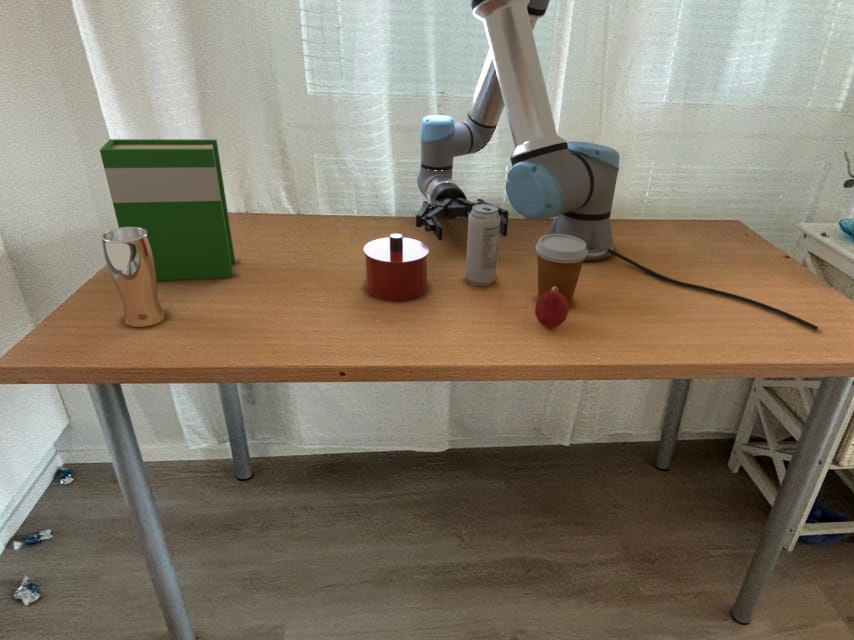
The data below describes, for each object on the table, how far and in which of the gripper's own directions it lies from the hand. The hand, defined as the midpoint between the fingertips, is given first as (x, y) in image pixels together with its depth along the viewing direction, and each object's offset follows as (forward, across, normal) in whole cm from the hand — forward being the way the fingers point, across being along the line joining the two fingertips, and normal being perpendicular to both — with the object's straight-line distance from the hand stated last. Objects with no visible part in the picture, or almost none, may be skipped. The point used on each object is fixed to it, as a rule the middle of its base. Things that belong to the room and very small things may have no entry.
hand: (473, 232), depth 129 cm
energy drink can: (+6, 0, -8) cm, 10 cm away
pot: (+6, +17, -8) cm, 20 cm away
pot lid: (+6, +17, -1) cm, 18 cm away
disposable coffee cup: (+18, -11, -8) cm, 22 cm away
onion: (+27, -6, -8) cm, 29 cm away
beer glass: (+10, +60, -8) cm, 62 cm away
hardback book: (-9, +55, -8) cm, 57 cm away
